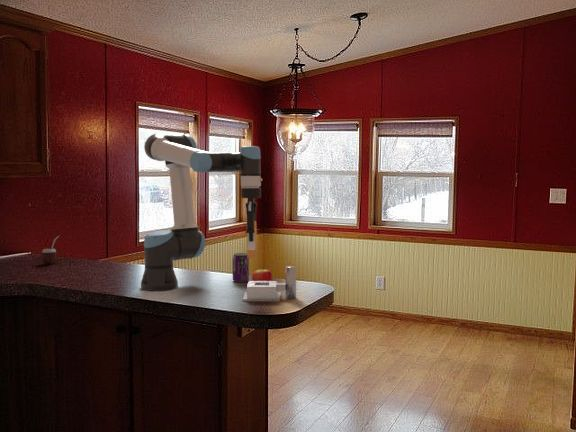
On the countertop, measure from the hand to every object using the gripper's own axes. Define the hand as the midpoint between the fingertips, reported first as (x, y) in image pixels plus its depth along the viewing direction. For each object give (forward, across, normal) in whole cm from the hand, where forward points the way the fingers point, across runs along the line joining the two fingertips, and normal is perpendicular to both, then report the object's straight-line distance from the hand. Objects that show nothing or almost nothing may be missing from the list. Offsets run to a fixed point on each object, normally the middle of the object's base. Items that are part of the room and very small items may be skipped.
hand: (252, 249), depth 228 cm
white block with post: (+19, +2, -6) cm, 20 cm away
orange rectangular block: (+3, 0, 0) cm, 3 cm away
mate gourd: (+17, +77, +112) cm, 137 cm away
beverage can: (+19, +35, +9) cm, 41 cm away
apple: (+19, +21, -2) cm, 29 cm away
